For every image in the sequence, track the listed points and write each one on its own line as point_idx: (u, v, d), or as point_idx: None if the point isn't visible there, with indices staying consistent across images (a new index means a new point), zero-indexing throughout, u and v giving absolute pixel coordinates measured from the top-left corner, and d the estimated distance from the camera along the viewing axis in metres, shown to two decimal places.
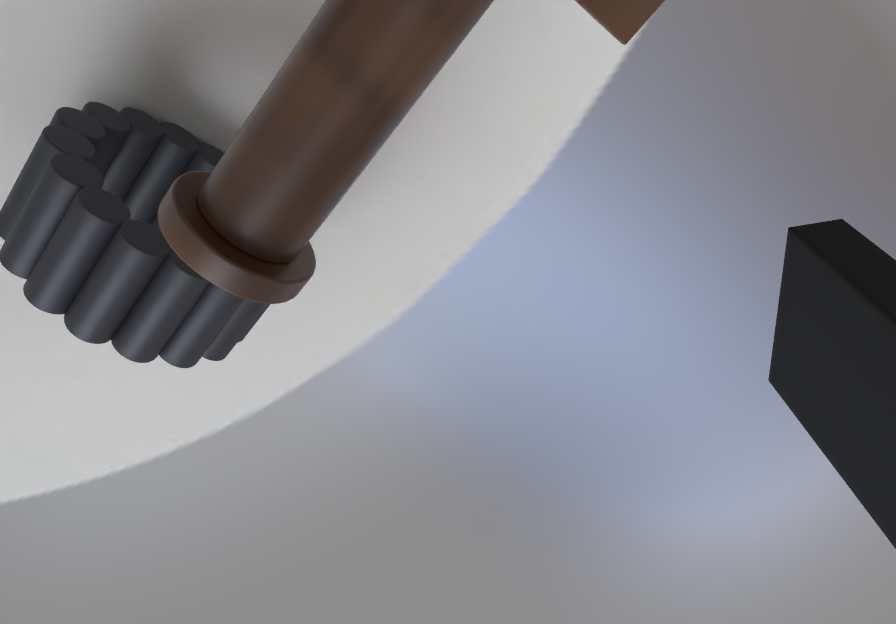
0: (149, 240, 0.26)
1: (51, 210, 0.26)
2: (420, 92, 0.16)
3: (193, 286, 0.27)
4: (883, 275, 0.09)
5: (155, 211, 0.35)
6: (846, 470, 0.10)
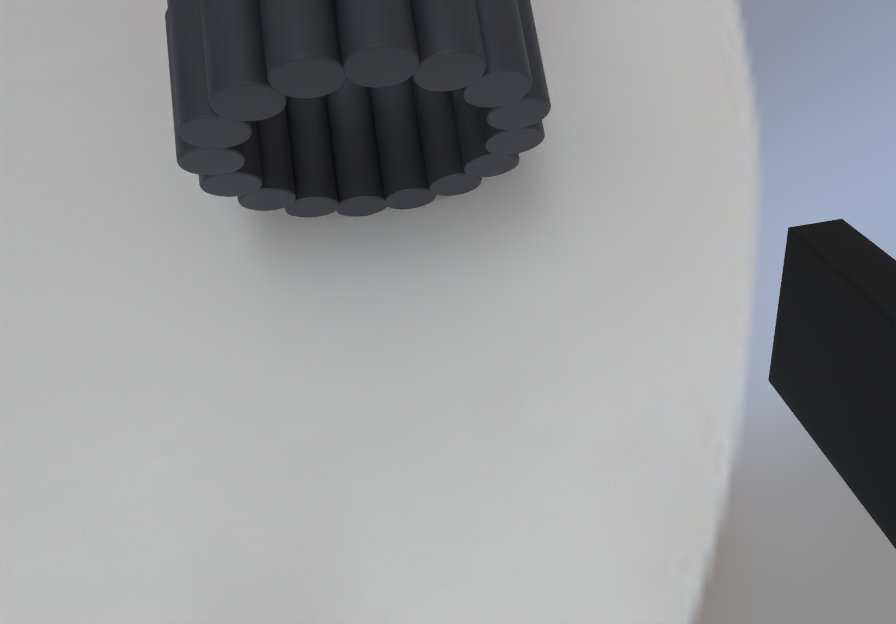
0: None
1: (189, 3, 0.19)
2: None
3: None
4: (884, 274, 0.09)
5: (377, 174, 0.26)
6: (846, 470, 0.10)
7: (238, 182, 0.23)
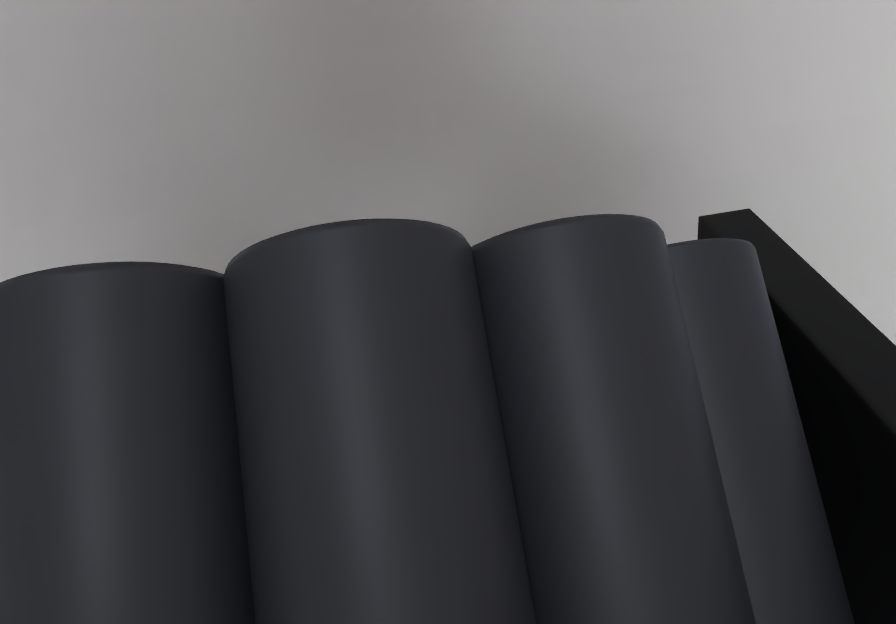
0: None
1: None
2: None
3: (391, 283, 0.05)
4: (777, 259, 0.09)
5: None
6: None
7: None
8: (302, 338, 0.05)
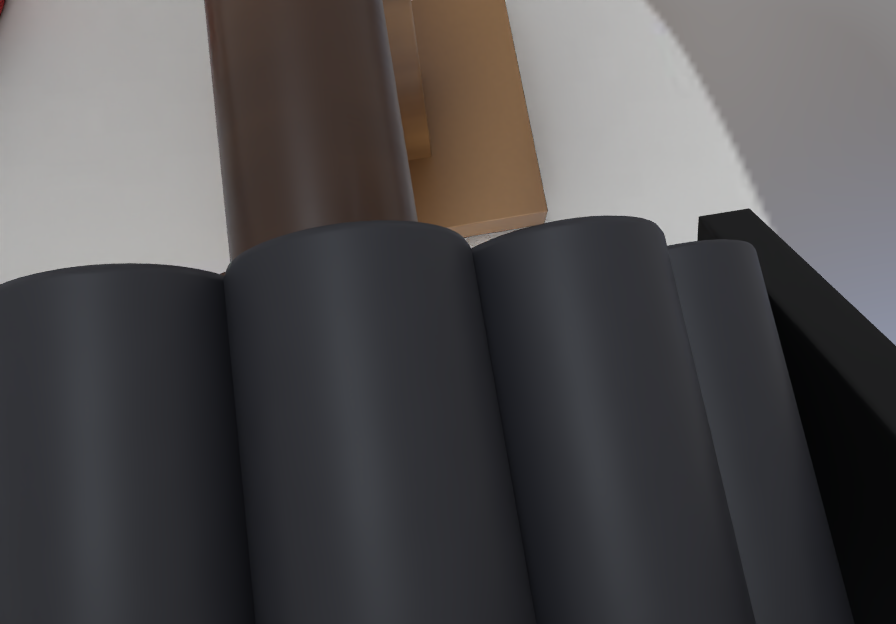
0: None
1: None
2: None
3: (391, 285, 0.05)
4: (776, 259, 0.09)
5: None
6: None
7: None
8: (302, 340, 0.05)
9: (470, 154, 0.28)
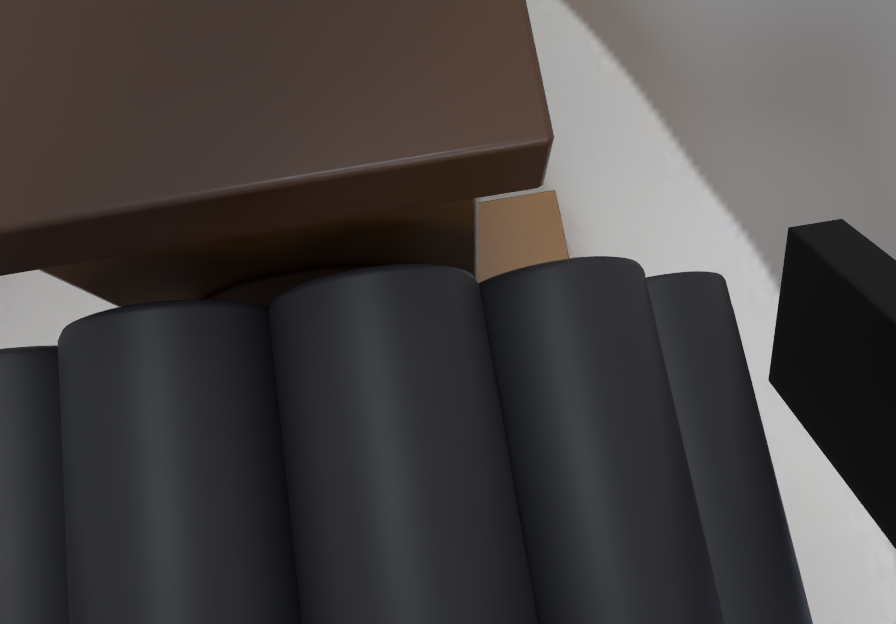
0: None
1: None
2: None
3: (415, 319, 0.06)
4: (884, 274, 0.09)
5: None
6: (846, 470, 0.10)
7: None
8: (342, 365, 0.06)
9: None
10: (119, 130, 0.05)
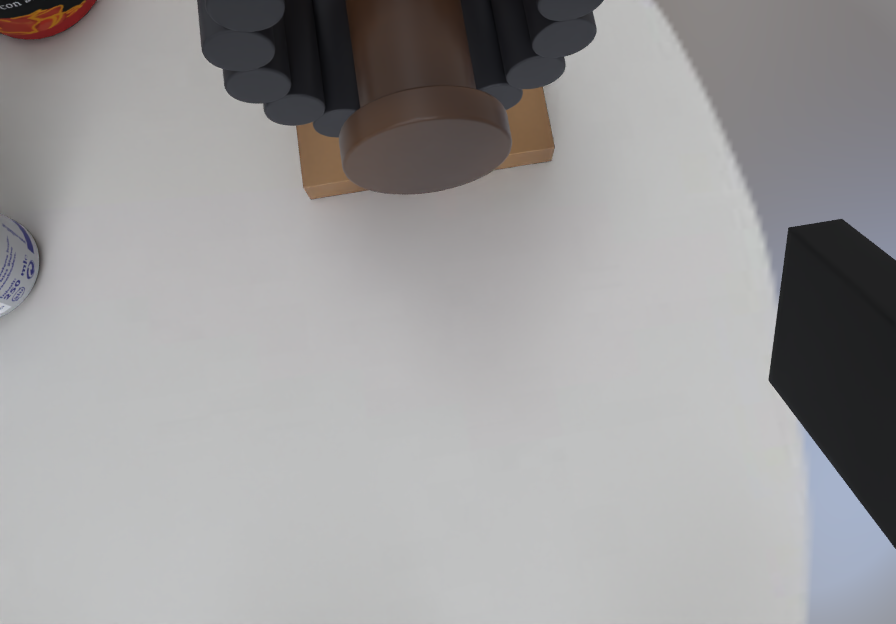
0: None
1: None
2: None
3: None
4: (884, 274, 0.09)
5: None
6: (846, 470, 0.10)
7: (266, 83, 0.21)
8: None
9: None
10: None
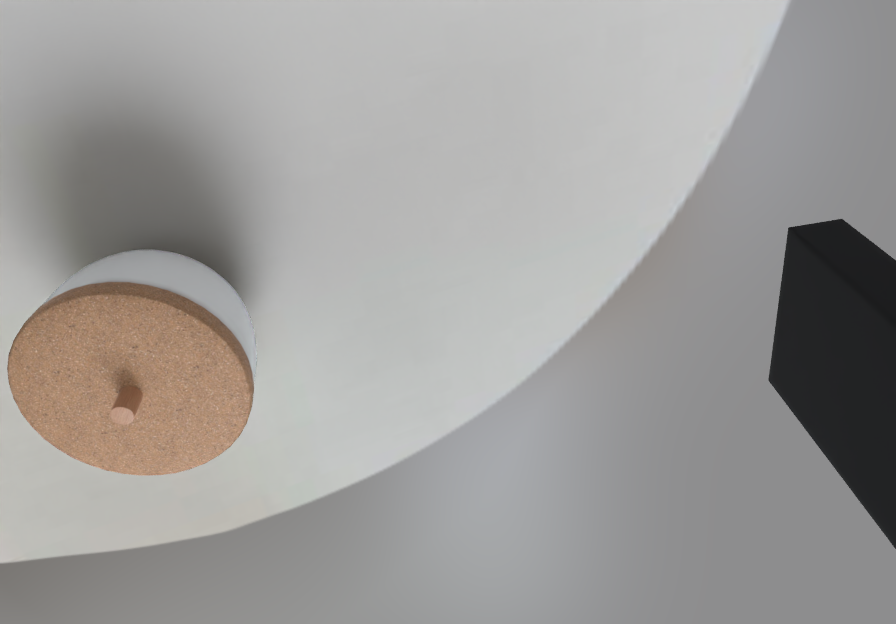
0: None
1: None
2: None
3: None
4: (884, 275, 0.09)
5: None
6: (846, 470, 0.10)
7: None
8: None
9: None
10: None
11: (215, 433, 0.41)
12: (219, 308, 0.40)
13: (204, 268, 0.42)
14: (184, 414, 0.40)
